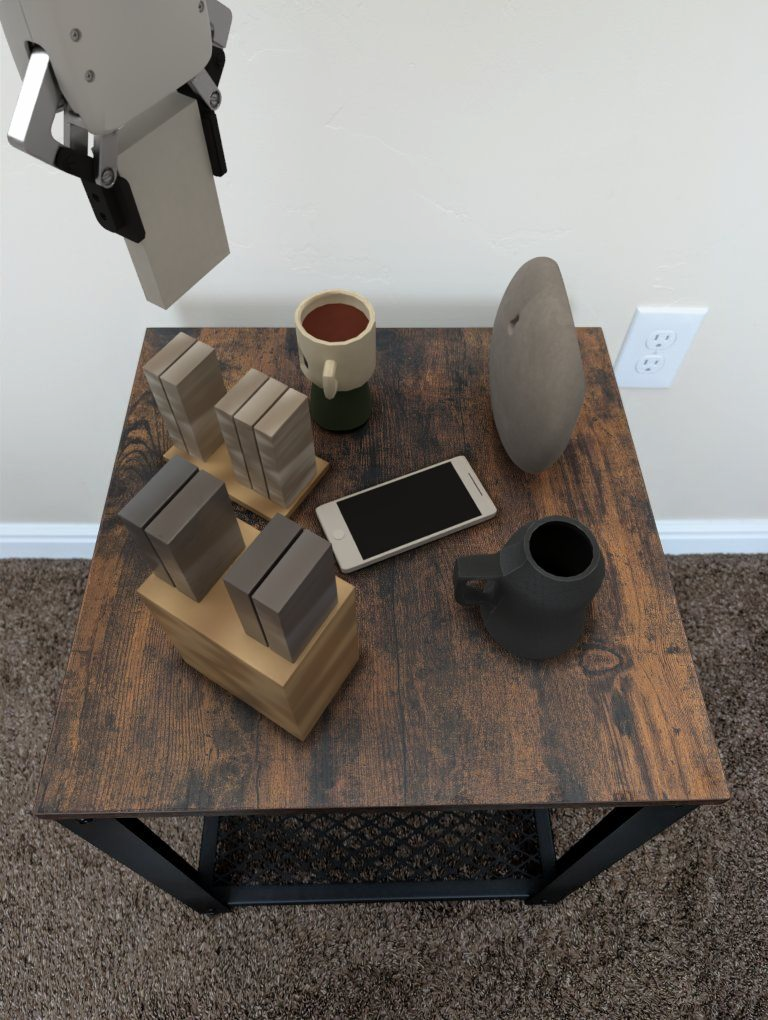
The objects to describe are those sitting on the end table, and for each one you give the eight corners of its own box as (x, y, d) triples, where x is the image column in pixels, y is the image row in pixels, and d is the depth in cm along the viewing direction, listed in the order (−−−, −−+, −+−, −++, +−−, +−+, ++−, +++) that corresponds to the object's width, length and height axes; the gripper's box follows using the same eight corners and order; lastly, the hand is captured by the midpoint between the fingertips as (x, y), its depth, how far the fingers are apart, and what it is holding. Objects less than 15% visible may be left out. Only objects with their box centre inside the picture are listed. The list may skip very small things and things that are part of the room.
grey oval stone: (567, 510, 66) (629, 373, 50) (493, 513, 66) (530, 376, 50) (535, 364, 76) (577, 210, 60) (469, 366, 76) (495, 212, 60)
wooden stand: (185, 662, 58) (94, 530, 39) (245, 588, 62) (188, 434, 43) (303, 741, 55) (265, 639, 36) (359, 658, 58) (351, 525, 40)
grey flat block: (146, 300, 49) (90, 148, 39) (211, 244, 52) (173, 90, 42) (166, 310, 48) (114, 158, 39) (230, 253, 51) (196, 99, 42)
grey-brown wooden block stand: (165, 461, 69) (128, 378, 58) (217, 408, 72) (191, 320, 62) (280, 528, 65) (262, 451, 55) (329, 468, 68) (321, 385, 58)
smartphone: (315, 512, 66) (314, 506, 65) (462, 459, 69) (463, 453, 68) (343, 575, 62) (343, 570, 61) (497, 516, 66) (498, 511, 65)
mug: (575, 560, 63) (611, 493, 54) (594, 658, 59) (637, 603, 49) (443, 563, 63) (454, 496, 53) (451, 661, 58) (465, 607, 49)
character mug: (315, 369, 75) (304, 270, 64) (381, 374, 75) (382, 276, 64) (298, 451, 69) (283, 358, 58) (369, 457, 69) (368, 365, 58)
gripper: (133, -245, 34) (209, 117, 50) (-183, -132, 27) (21, 255, 42) (255, -219, 32) (295, 151, 47) (-49, -88, 25) (114, 303, 40)
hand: (166, 198), depth 45 cm, fingers closed on grey flat block, 7 cm apart
